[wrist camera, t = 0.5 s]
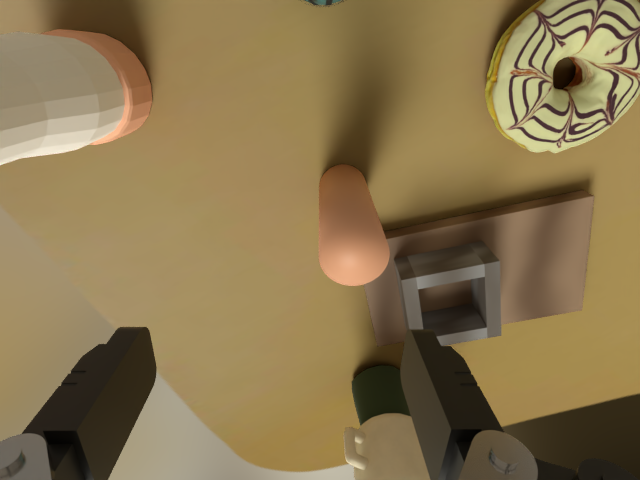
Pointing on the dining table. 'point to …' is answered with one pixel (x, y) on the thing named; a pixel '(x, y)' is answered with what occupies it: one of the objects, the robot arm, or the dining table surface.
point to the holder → (483, 270)
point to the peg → (349, 228)
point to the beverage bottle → (322, 2)
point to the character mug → (383, 430)
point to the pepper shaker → (67, 92)
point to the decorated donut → (588, 83)
